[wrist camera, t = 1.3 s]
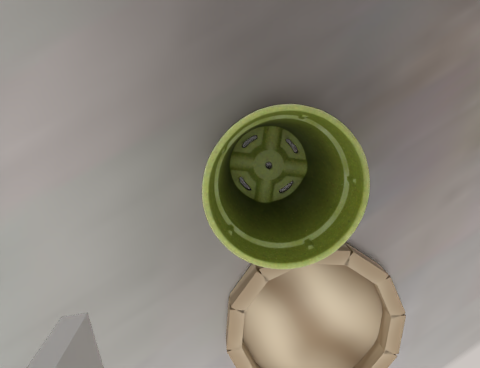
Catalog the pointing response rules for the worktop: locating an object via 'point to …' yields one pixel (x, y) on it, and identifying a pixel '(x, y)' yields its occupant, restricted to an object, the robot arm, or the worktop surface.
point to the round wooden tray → (316, 315)
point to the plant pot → (278, 176)
